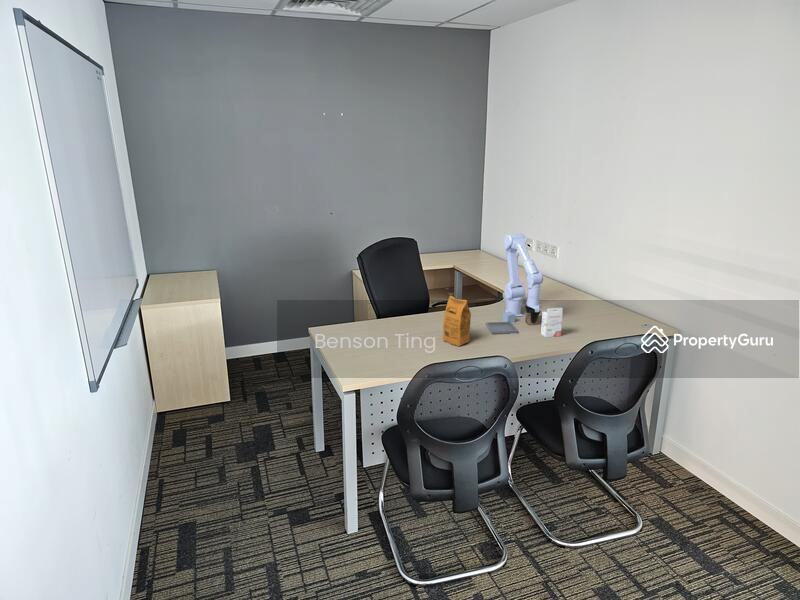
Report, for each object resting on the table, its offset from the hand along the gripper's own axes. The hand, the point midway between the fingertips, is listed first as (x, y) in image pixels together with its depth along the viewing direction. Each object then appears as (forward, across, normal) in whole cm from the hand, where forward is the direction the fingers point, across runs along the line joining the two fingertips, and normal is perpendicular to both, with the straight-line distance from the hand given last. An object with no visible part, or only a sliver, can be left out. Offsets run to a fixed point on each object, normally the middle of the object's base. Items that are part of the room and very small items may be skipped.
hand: (531, 320), depth 274 cm
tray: (+1, -7, +18) cm, 19 cm away
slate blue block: (+2, +4, +11) cm, 12 cm away
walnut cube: (+1, 0, 0) cm, 1 cm away
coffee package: (+2, -21, +44) cm, 49 cm away
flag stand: (+2, +36, -1) cm, 36 cm away
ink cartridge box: (+2, -17, -4) cm, 18 cm away
